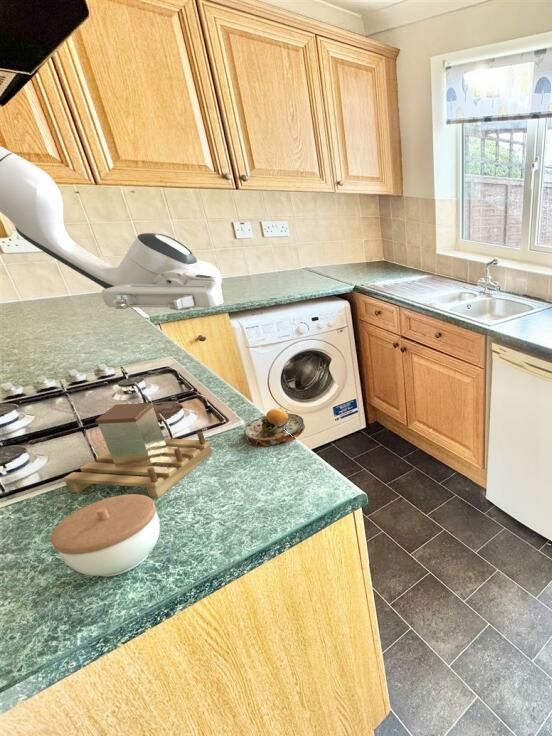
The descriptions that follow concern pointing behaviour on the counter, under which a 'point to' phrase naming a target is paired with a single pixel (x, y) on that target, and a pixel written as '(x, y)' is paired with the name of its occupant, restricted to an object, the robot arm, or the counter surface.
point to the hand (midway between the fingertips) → (145, 305)
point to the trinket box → (108, 535)
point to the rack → (144, 468)
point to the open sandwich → (274, 428)
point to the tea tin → (132, 434)
